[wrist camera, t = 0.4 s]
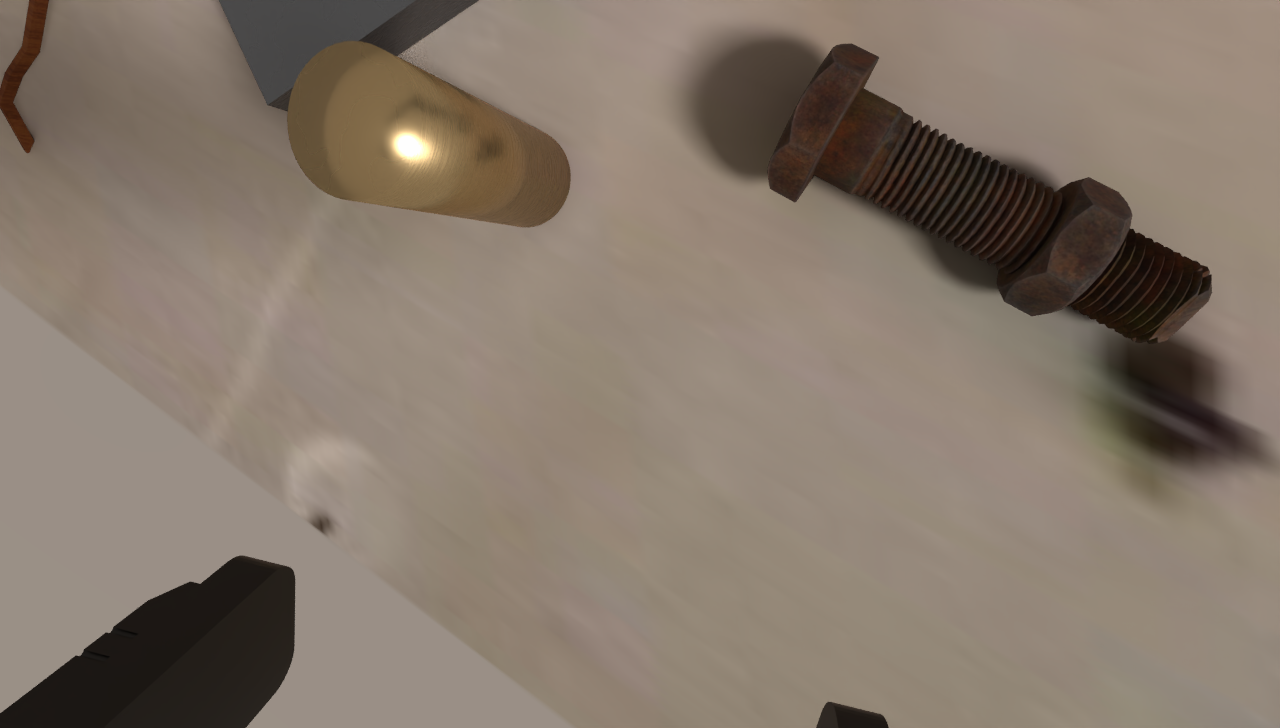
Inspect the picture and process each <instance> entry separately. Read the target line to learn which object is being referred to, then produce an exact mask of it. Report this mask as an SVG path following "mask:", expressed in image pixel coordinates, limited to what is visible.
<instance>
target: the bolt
mask: <svg viewBox="0 0 1280 728" xmlns="http://www.w3.org/2000/svg"><path fill="white" fill-rule="evenodd" d="M878 59H879V57H878V56H876V55H874V54H872V53H870V52H868V51H866V50H864V49H862V48H860V47H857V46H855V45H853V44H840V45H836V46H835V47H833V48H832V50H831V51H830V53H829V54H828V56H827V57H826V58H825V60H824V61H823V63H822V64H821V66H820V67H819V69H818V71H817V72H816V74H815V76H814V77H813V79H812V81H811V82H810V84H809V85H808V87H807V89H806V90H805V92H804V93H803V95H802V97H801V99H800V101H799V102H798V104H797V106H796V108H795V110H794V112H793V114H792V116H791V118H790V120H789V122H788V124H787V126H786V128H785V130H784V132H783V134H782V136H781V138H780V140H779V143H778V145H777V147H776V149H775V151H774V153H773V155H772V157H771V159H770V162H769V166H768V172H767V173H768V180H769V186H770V189H771V190H773V191H775V192H777V193H779V194H781V195H782V196H784V197H786V198H788V199H790V200H792V201H793V202H796V201H797V200H798V198H799V197H800V195H801V194H802V193H803V191H804V190H805V188H806V187H807V185H808V184H809V182H810V181H811V179H812V178H813V176H814V175H816V176H817V177H819V178H821V179H823V180H825V181H827V182H829V183H831V184H833V185H834V186H836V187H838V188H840V189H842V190H844V191H846V192H848V193H850V194H857V195H858V196H865V199H867V200H868V199H870V198H873V197H874V200H873V204H876V203H879V202H882V205H881V208H885V207H887V206H890V210H889V212H890V213H892V212H894V211H896V210H898V213H897V216H899V217H901V216H903V215H905V214H906V217H905V220H906V221H907V222H908V221H911V220H914V225H915V226H918V225H920V224H922V229H923V230H924V231H925V230H927V229H929V228H930V234H935V233H937V232H938V238H943V237H945V236H946V242H947V243H949V242H951V241H954V245H955V247H959V246H961V245H962V250H963V251H969V250H971V255H973V256H975V255H977V254H979V259H980V260H984V259H987V262H988V264H993V263H995V264H996V268H997V269H1000V270H999V273H998V278H997V285H998V289H999V292H1000V294H1001V296H1002V298H1003V300H1004V302H1006V303H1008V304H1010V305H1012V306H1014V307H1015V308H1017V309H1019V310H1021V311H1023V312H1025V313H1027V314H1029V315H1030V316H1036V315H1042V314H1047V313H1052V312H1055V311H1058V310H1061V309H1063V308H1064V307H1066V306H1068V305H1071V307H1072V308H1073V309H1074V310H1080V313H1081V314H1083V315H1088V317H1089V318H1090V319H1096V321H1097V322H1098V323H1099V324H1105V325H1106V326H1107V327H1108V328H1113V329H1115V331H1116V332H1118V333H1120V334H1122V335H1123V336H1124V337H1126V338H1127V337H1128V338H1131V340H1132V341H1135V340H1136V343H1142V342H1146V341H1147V342H1148V343H1149V344H1154V343H1159V342H1163V341H1166V340H1167V339H1169V338H1170V337H1171V336H1172V335H1173V334H1174V333H1175V332H1176V331H1177V330H1178V329H1180V328H1181V327H1182V326H1183V325H1184V324H1185V323H1186V322H1187V321H1188V320H1189V319H1190V318H1191V317H1192V316H1194V315H1195V314H1196V313H1197V312H1198V311H1199V310H1200V309H1201V308H1202V307H1203V306H1204V305H1205V304H1206V303H1207V302H1208V301H1209V298H1210V296H1211V293H1212V285H1211V276H1212V274H1211V275H1209V273H1210V271H1209V269H1208V267H1206V266H1202V265H1200V263H1198V262H1196V261H1192V260H1190V259H1189V258H1187V257H1185V256H1184V257H1182V256H1181V254H1180V253H1177V252H1173V250H1171V249H1169V248H1168V247H1164V246H1163V245H1161V244H1160V243H1158V242H1155V243H1154V241H1153V240H1152V239H1151V238H1145V236H1144V235H1142V234H1140V233H1135V231H1134V230H1133V229H1130V225H1131V219H1132V213H1131V210H1130V208H1129V206H1128V204H1127V202H1126V201H1125V199H1124V198H1123V197H1122V196H1121V195H1120V193H1119V192H1117V191H1115V190H1113V189H1111V188H1109V187H1107V186H1105V185H1103V184H1101V183H1099V182H1097V181H1095V180H1093V179H1091V178H1085V179H1082V180H1078V181H1074V182H1071V183H1069V184H1067V185H1066V186H1064V187H1062V188H1061V189H1060V190H1058V191H1057V192H1054V193H1053V189H1052V188H1051V187H1046V188H1044V184H1043V183H1042V182H1040V183H1036V184H1035V180H1034V178H1029V179H1027V180H1026V175H1025V174H1024V173H1023V174H1018V173H1017V171H1016V170H1015V169H1011V170H1009V167H1008V166H1007V165H1005V164H1004V165H1001V166H1000V162H999V161H997V160H994V161H992V162H991V157H989V156H988V155H987V156H985V157H983V158H982V153H981V152H980V151H978V152H975V153H973V148H971V147H970V148H966V149H965V148H964V145H963V144H962V143H960V144H957V145H956V141H955V140H954V139H950V140H948V141H947V134H942V135H941V136H939V130H938V129H935V130H933V131H932V132H931V133H930V126H929V125H926V126H924V127H923V128H922V122H921V121H920V120H919V121H917V122H916V123H914V124H913V117H912V116H910V115H908V114H906V113H904V112H903V110H902V108H900V107H898V106H896V105H894V104H893V103H891V102H889V101H887V100H885V99H883V98H881V97H879V96H877V95H875V94H873V93H871V92H869V91H867V90H866V89H864V86H865V84H866V82H867V80H868V79H869V77H870V75H871V73H872V71H873V69H874V67H875V65H876V63H877V61H878Z"/></svg>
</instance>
